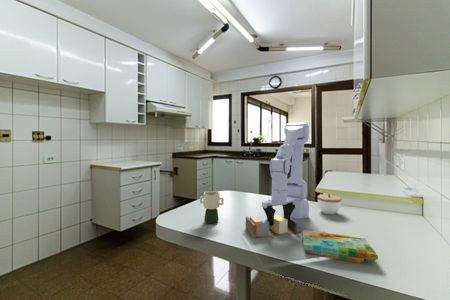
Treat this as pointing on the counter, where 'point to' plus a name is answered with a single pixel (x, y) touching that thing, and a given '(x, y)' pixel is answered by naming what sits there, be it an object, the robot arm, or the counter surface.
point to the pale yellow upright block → (279, 225)
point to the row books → (261, 226)
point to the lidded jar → (329, 203)
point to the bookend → (294, 226)
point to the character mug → (211, 205)
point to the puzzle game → (337, 246)
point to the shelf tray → (252, 229)
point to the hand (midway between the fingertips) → (278, 223)
